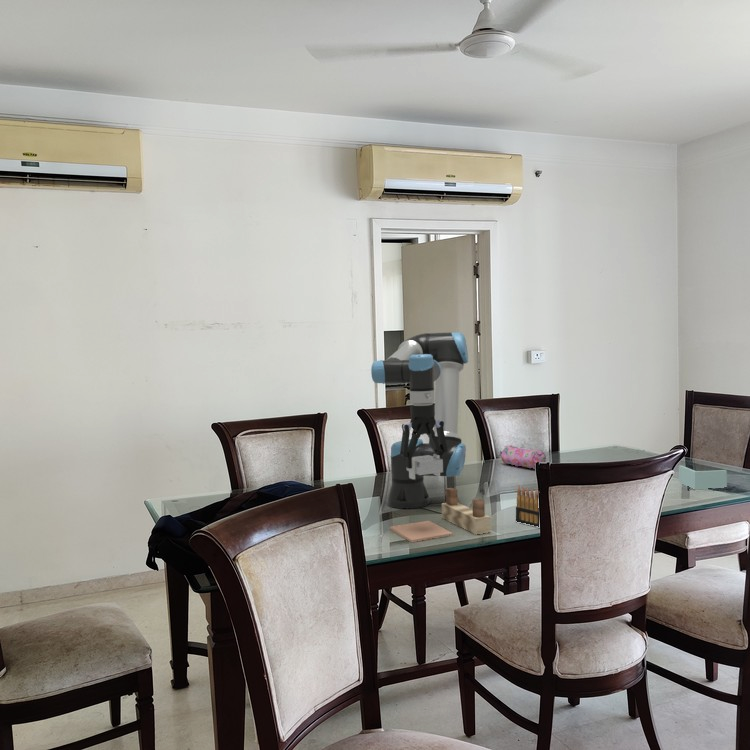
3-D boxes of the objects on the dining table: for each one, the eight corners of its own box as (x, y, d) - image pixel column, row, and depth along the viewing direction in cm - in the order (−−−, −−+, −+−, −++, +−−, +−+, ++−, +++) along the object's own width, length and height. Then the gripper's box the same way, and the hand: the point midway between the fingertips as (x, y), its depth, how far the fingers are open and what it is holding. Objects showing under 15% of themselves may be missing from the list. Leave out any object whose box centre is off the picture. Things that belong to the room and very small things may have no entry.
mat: (389, 529, 219) (389, 526, 219) (428, 522, 224) (428, 520, 224) (411, 542, 204) (411, 540, 204) (452, 535, 210) (452, 533, 209)
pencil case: (498, 465, 315) (498, 445, 315) (513, 462, 320) (513, 443, 319) (532, 472, 297) (532, 451, 297) (547, 469, 302) (547, 449, 301)
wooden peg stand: (442, 518, 230) (441, 488, 229) (455, 516, 231) (454, 486, 231) (476, 535, 209) (475, 502, 209) (490, 532, 211) (489, 500, 210)
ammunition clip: (515, 522, 222) (514, 485, 221) (519, 521, 223) (518, 484, 222) (542, 529, 213) (541, 490, 212) (546, 527, 214) (545, 489, 214)
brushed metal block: (406, 470, 216) (406, 457, 216) (429, 467, 219) (428, 455, 219) (420, 475, 208) (419, 462, 208) (443, 472, 211) (442, 459, 211)
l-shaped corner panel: (726, 490, 253) (726, 470, 252) (695, 492, 252) (694, 471, 252) (709, 483, 265) (709, 464, 264) (679, 484, 264) (678, 465, 264)
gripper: (397, 407, 205) (400, 483, 206) (457, 402, 213) (459, 475, 215) (386, 405, 212) (389, 478, 213) (445, 400, 220) (447, 471, 221)
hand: (424, 476), depth 214 cm, fingers closed on brushed metal block, 8 cm apart
